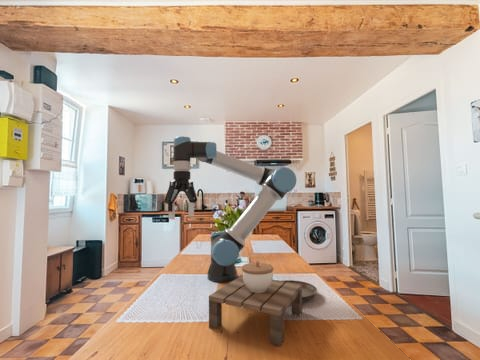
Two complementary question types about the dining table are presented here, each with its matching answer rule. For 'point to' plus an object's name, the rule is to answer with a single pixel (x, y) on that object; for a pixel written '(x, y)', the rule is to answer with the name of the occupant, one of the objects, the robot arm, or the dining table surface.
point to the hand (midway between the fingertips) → (181, 217)
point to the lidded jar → (257, 276)
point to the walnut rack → (258, 303)
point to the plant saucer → (305, 290)
